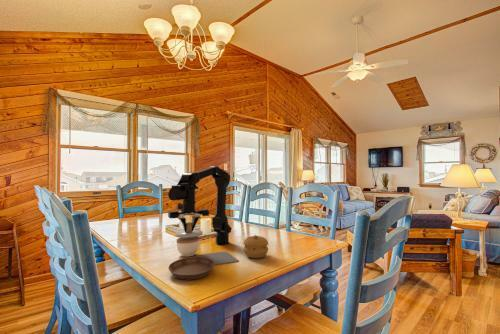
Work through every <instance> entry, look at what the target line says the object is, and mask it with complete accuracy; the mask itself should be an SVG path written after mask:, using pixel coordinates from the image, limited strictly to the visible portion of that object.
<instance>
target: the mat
mask: <svg viewBox="0 0 500 334" xmlns="http://www.w3.org/2000/svg"><path fill="white" fill-rule="evenodd" d="M193 257H203V258H208V259H211V260H212V261H213V262H214V264H215V265H214V267H215V266H219V265H225V264H226V265H227V264H233V263H238V262H240V260H239V259H238V258H237V257H235V256H233V255H232V254H230V252H228V251H227V250H224V251H216V252H215V251H214V252H210V253H209V252H208V253H202V254H195V255H193Z"/></svg>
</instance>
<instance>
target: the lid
mask: <svg viewBox="0 0 500 334" xmlns="http://www.w3.org/2000/svg"><path fill="white" fill-rule="evenodd" d="M202 235H203V231H202V230H200V229H194V230H193V231H192V221H191V222H190V221H189V222H187V221H186V232H185V231H184V229H183V230H178V231H175V232H174V236H175V237H176V238H180V237H183V238H188V237H197V236H198V237H200V236H202Z"/></svg>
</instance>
